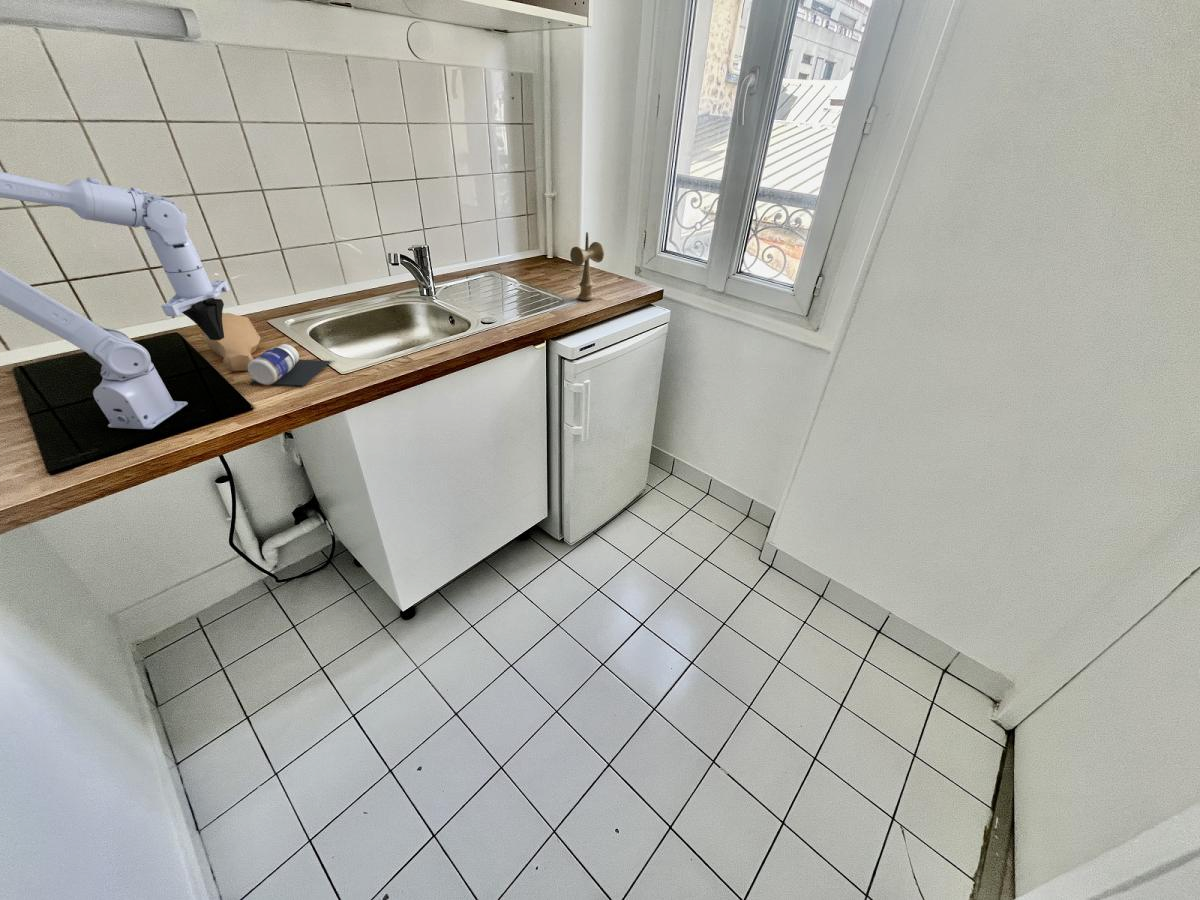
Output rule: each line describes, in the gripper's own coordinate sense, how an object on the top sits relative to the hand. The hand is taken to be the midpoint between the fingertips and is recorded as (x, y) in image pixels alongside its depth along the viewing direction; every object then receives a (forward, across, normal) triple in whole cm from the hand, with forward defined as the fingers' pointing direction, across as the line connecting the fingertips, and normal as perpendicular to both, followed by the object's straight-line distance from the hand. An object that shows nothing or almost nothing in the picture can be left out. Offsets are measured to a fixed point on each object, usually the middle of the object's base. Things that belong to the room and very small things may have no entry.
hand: (217, 338), depth 96 cm
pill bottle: (+7, -1, -6) cm, 9 cm away
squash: (+11, +13, +8) cm, 19 cm away
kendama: (+12, +66, -70) cm, 96 cm away
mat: (+11, +6, -8) cm, 15 cm away
